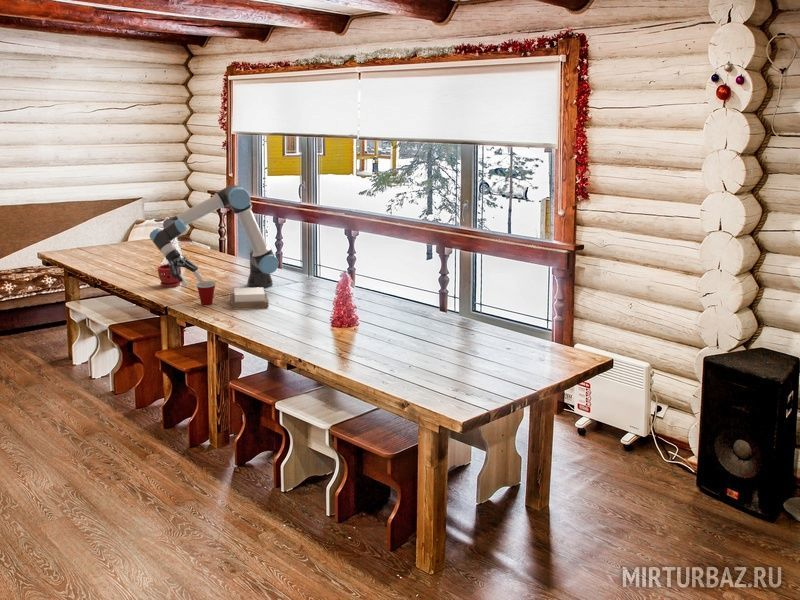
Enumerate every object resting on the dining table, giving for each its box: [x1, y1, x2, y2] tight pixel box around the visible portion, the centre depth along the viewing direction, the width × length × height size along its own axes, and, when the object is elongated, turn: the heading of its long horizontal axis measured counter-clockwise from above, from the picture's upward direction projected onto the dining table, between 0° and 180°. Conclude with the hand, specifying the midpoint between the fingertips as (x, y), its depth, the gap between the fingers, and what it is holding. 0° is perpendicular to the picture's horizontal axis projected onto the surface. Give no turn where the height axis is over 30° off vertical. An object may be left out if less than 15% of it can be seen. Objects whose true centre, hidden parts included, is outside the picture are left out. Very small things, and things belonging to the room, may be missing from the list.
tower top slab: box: [233, 287, 265, 302], centre depth 443 cm, size 16×16×4 cm
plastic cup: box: [195, 280, 217, 306], centre depth 439 cm, size 11×11×12 cm
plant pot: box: [157, 264, 182, 288], centre depth 479 cm, size 13×13×12 cm
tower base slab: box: [229, 292, 269, 310], centre depth 444 cm, size 20×20×4 cm
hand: (194, 283), depth 439 cm, fingers open, 13 cm apart
